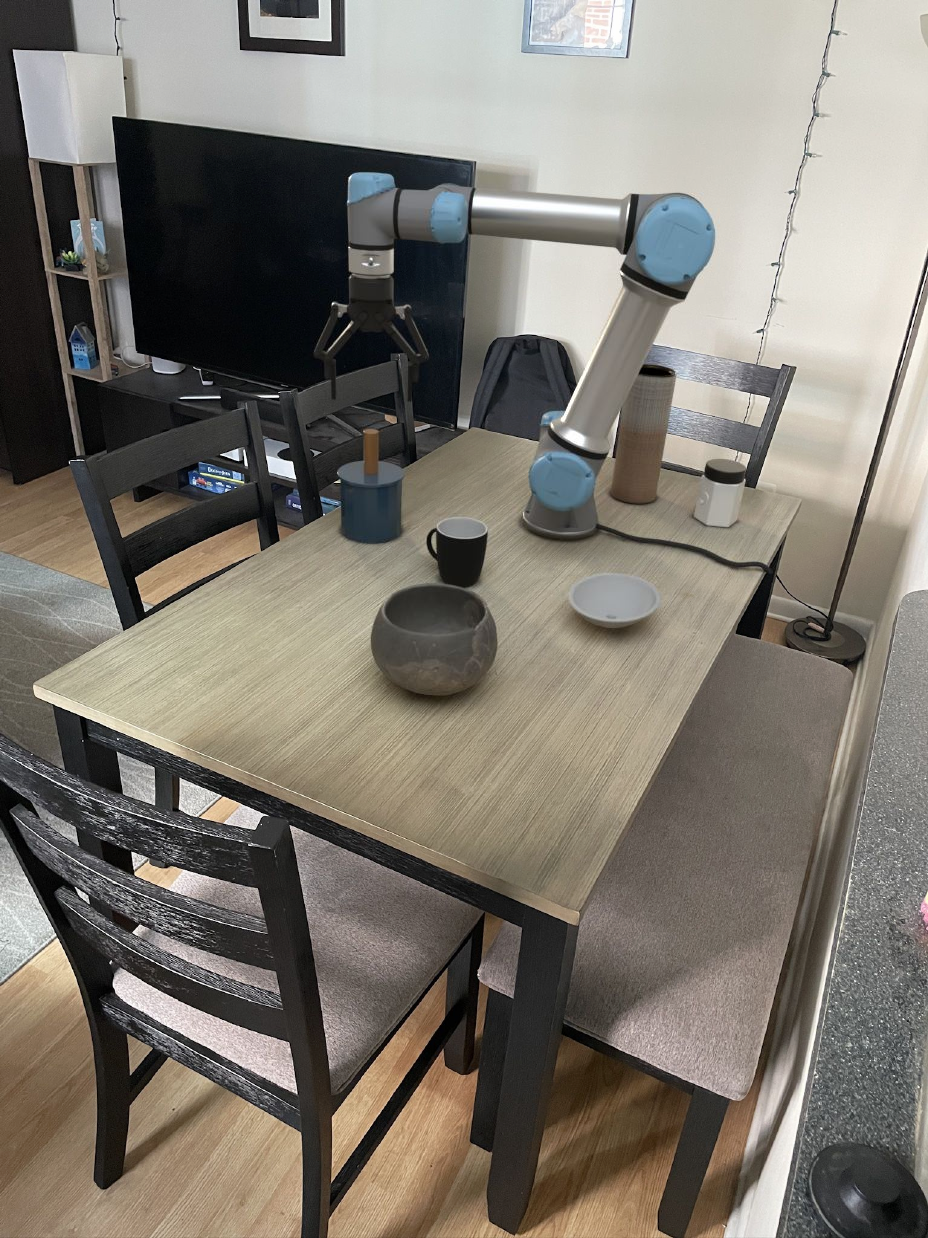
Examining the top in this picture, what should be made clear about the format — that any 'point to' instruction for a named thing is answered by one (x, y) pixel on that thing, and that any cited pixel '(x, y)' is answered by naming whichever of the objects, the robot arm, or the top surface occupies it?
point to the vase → (643, 435)
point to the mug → (459, 549)
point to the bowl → (434, 638)
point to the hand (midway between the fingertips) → (371, 398)
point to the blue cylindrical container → (371, 512)
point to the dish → (614, 599)
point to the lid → (371, 466)
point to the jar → (720, 492)
